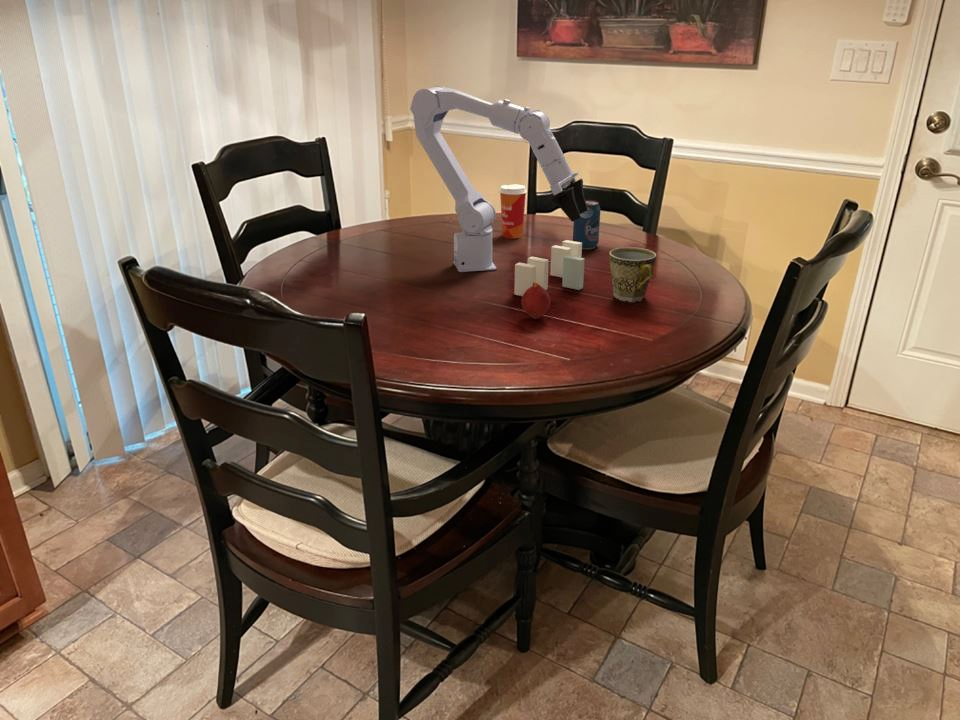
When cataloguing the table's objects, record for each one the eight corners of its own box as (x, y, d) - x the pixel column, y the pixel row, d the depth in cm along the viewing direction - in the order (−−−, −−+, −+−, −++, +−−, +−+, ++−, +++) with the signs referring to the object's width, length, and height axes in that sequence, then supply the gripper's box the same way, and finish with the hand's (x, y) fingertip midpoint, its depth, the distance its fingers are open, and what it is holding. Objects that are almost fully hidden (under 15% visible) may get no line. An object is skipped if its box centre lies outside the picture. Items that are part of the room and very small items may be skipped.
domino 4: (577, 272, 182) (578, 244, 179) (561, 269, 184) (562, 241, 181) (580, 270, 183) (582, 242, 180) (564, 267, 185) (565, 239, 182)
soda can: (590, 251, 198) (592, 206, 193) (567, 247, 201) (569, 202, 196) (602, 245, 203) (605, 201, 198) (580, 241, 206) (582, 198, 201)
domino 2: (543, 291, 169) (544, 261, 166) (526, 287, 171) (527, 258, 168) (547, 289, 170) (548, 259, 168) (530, 285, 173) (531, 256, 170)
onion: (532, 311, 157) (533, 275, 154) (554, 317, 154) (556, 280, 151) (515, 319, 153) (516, 282, 150) (538, 326, 150) (539, 288, 147)
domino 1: (531, 298, 165) (532, 267, 162) (514, 294, 167) (514, 264, 164) (535, 295, 166) (536, 265, 163) (518, 292, 169) (519, 262, 166)
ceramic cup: (598, 292, 168) (601, 249, 164) (636, 287, 171) (640, 245, 167) (628, 312, 157) (632, 266, 153) (668, 305, 160) (673, 261, 156)
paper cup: (495, 233, 214) (495, 184, 208) (520, 231, 216) (521, 183, 210) (504, 240, 207) (504, 190, 201) (529, 238, 209) (531, 188, 203)
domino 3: (566, 278, 177) (567, 249, 174) (550, 275, 180) (551, 246, 177) (570, 276, 179) (571, 247, 176) (553, 273, 181) (555, 245, 178)
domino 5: (579, 289, 170) (581, 260, 167) (562, 286, 172) (563, 257, 169) (582, 287, 171) (584, 258, 168) (565, 284, 173) (567, 255, 170)
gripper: (560, 158, 161) (588, 215, 163) (575, 149, 173) (601, 201, 176) (532, 174, 164) (561, 228, 167) (549, 163, 176) (575, 214, 179)
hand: (580, 215), depth 172 cm, fingers open, 7 cm apart
